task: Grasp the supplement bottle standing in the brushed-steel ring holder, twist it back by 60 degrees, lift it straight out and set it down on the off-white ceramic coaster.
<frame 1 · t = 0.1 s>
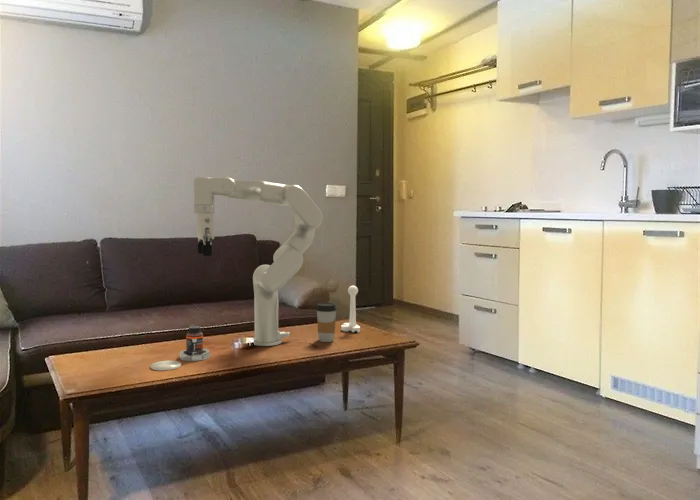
hand: (204, 254, 223), 37 cm above the table, tool pointing down, fingers open, 9 cm apart
supplement bottle: (194, 357, 214), resting in ring holder
joystick: (349, 330, 259), on the table
coaster: (165, 366, 202), on the table
coffee cup: (326, 340, 241), on the table
ring holder: (194, 357, 214), on the table
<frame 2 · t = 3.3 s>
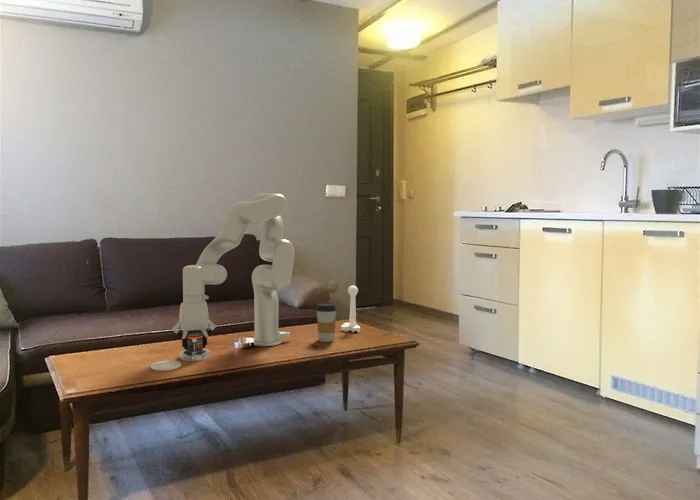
hand: (194, 347, 213), 4 cm above the table, tool pointing down, fingers closed on supplement bottle, 6 cm apart
supplement bottle: (194, 357, 214), resting in ring holder, touching gripper
everything else where it was.
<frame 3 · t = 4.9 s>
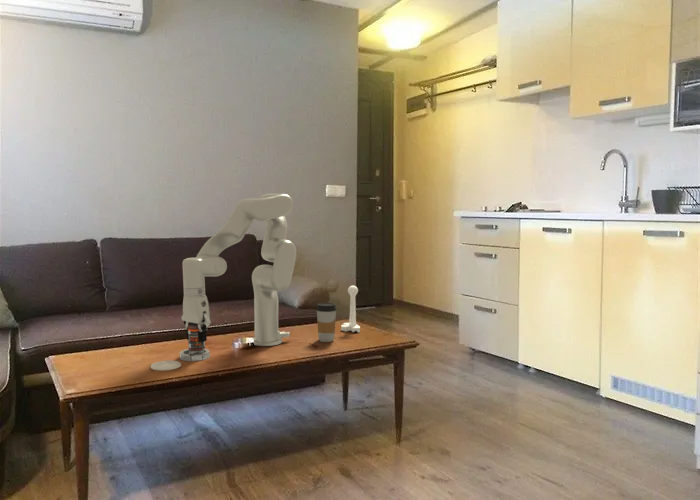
hand: (196, 339, 214), 6 cm above the table, tool pointing down, fingers closed on supplement bottle, 6 cm apart
supplement bottle: (197, 349, 214), point 3 cm above the table, touching gripper
everything else where it was.
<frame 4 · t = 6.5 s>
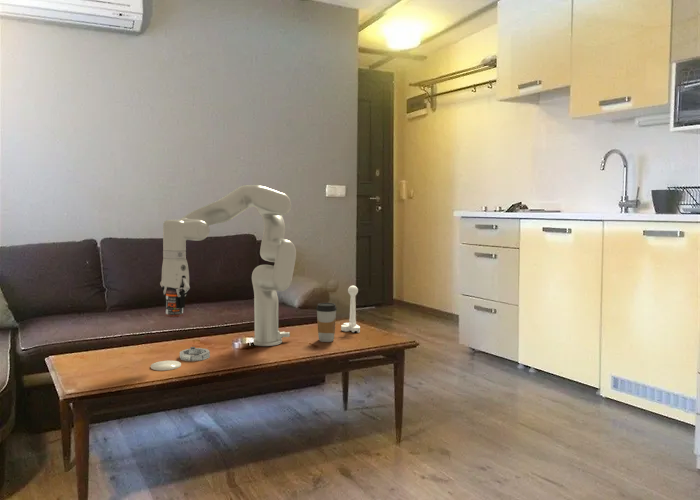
hand: (174, 306, 204), 20 cm above the table, tool pointing down, fingers closed on supplement bottle, 6 cm apart
supplement bottle: (174, 316, 204), point 17 cm above the table, touching gripper
everything else where it was.
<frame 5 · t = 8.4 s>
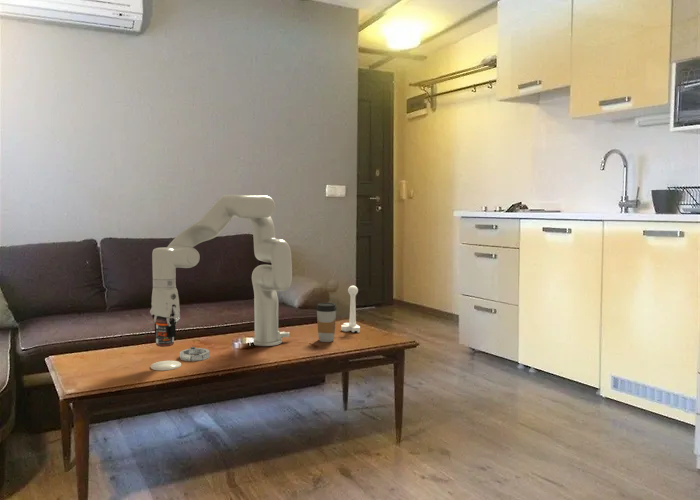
hand: (165, 335, 201), 11 cm above the table, tool pointing down, fingers closed on supplement bottle, 6 cm apart
supplement bottle: (165, 345, 201), point 7 cm above the table, touching gripper
everything else where it was.
when the fingers open (5 cm above the table, at t = 9.9 s): supplement bottle drops 1 cm, resting on coaster.
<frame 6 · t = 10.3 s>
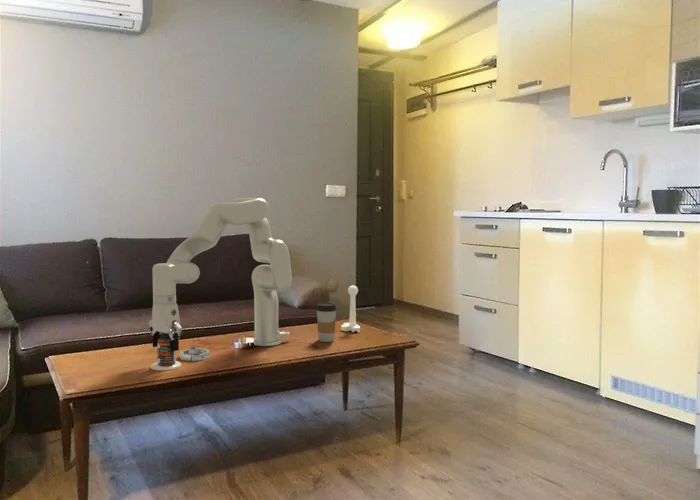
hand: (165, 348, 201), 6 cm above the table, tool pointing down, fingers open, 9 cm apart
supplement bottle: (166, 365, 202), resting on coaster
everything else where it was.
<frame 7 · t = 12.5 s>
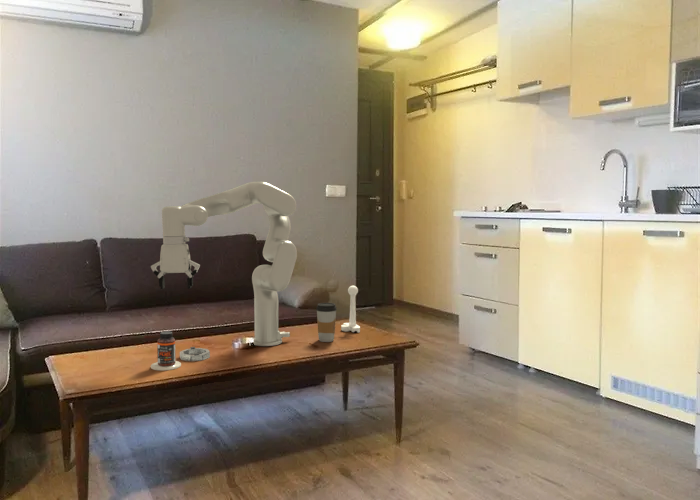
hand: (176, 288, 210), 26 cm above the table, tool pointing down, fingers open, 9 cm apart
nothing on the table moved.
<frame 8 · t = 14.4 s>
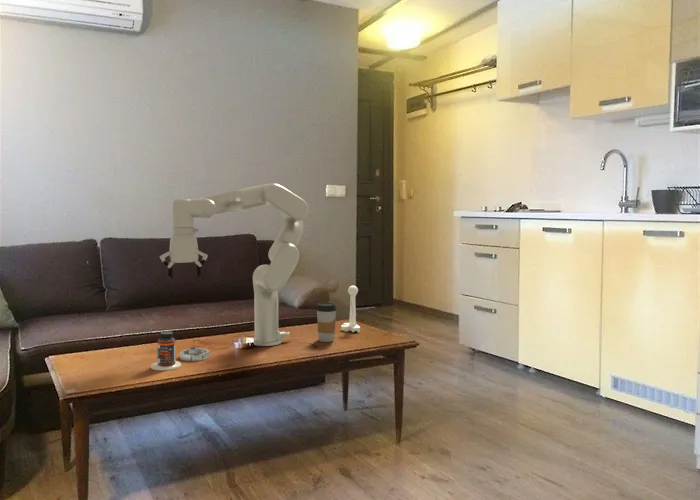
hand: (184, 277, 219), 28 cm above the table, tool pointing down, fingers open, 9 cm apart
nothing on the table moved.
at the end: supplement bottle 0.3 cm from the coaster (horizontally); supplement bottle tilted 1°; the gripper is holding nothing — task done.
